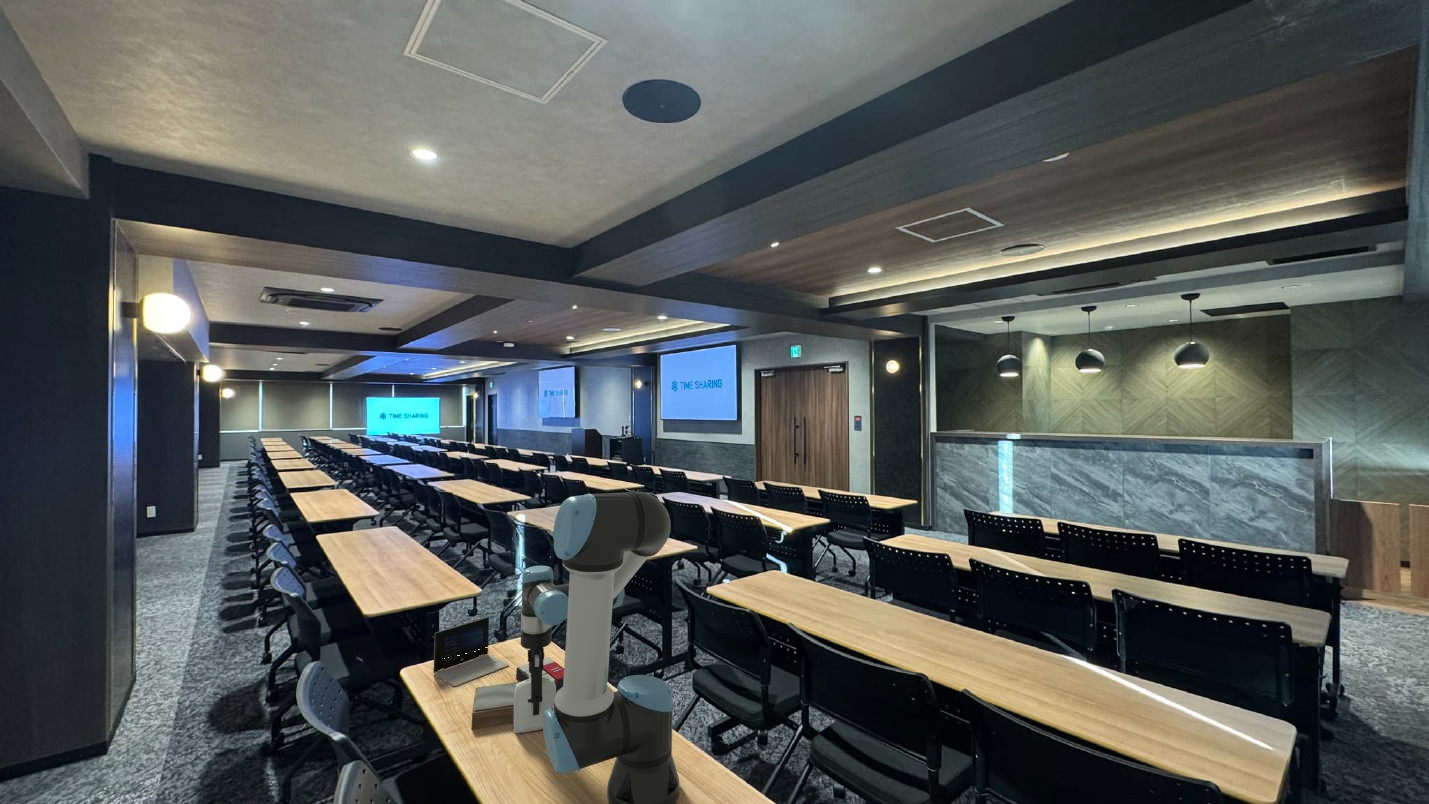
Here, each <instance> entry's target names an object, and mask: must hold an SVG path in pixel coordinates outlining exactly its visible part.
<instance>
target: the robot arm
mask: <svg viewBox="0 0 1429 804" xmlns="http://www.w3.org/2000/svg"><path fill="white" fill-rule="evenodd" d="M552 534H553V535H552V536H553V537H552V538H553V550H554V553H555V555H556V557H557V558H558V559H561V561H562V566H563V568H565V570H567V571H568V572H569V581H568V582H569V583H566V584H557V585H555V584H554V579H555V577H554V571H553V568H552V567H550V566H547V565H533V566H530V567H527V568H525V569H524V570H523V572H522V579H521V582H520V583H521V612H520V629H521V631H520V645H521V647H522V648H524V649H526V650H527V662H528V664H529V672H530V673H529V679H531V698H530V699H528V703H529V702H530V728H532V727H538V726H541V716H542V700H543V698H542V671H543V660H544V659H545V652H544V651H545V648H546V647H548V646H549V645H551V643H552V633H553V632H552V631H553V630H552V626H556V625H559V624H561V623H563V622H564V621H565V620H566V630H565V631H566V636H565V650H564V651H565V652H564V663H563V664H564V667H563V668H564V681H563V687H562V688H561V689H560V690H558V691H556V695H555V699H554V708H549V709H548V710H546V711H545V712H544V714H543V729H542V731H543V737H544V742H545V748H546V752H547V756H548V758H549V761H550V763H551V765H552V768H553V769H554V771H556V772H557V773H558V774H562V775H564V774H569V773H572V772H576V771H577V772H580V770H581V769H585V768H588V767H591V766H594V765H596V764H599V763H600V764H601V763H602V762H606V761H609V760H611V759H615V760H614V764H613V767H612V769H611V772H610V775H609V779H608V782H607V788H606V789H607V794H606V798H607V801H608V804H674V803H676V802H677V801H676V800H678V799H677V798H679V795H680V778H679V774H678V770H677V767H676V765H675V764H676V763H675V761H674V757H673V751H672V750H673V747H672V745H673V717H674V716H673V714H674V713H673V711H674V708H675V707H674V700H673V699H674V698H673V690H672V688H671V686H670V685H669V683H667V681H665V680H663V679H661V678H658V677H655V676H652V675H648V674H647V675H645V674H635V675H632V674H631V675H628V676H625V677H623V678H622V679H620V680H619V682H618V684H617V686H616V690H617V691H614V690H613V689H612V688H611V686H609V685H608V680H609V679H608V678H609V664H610V662H609V661H610V649H611V635H612V634H611V631H612V617H613V609H614V608H618V607H621V606H622V604H623V602H624V598H625V587H626V585H627V584H628V583H629V582H630V580H631V579H632V578H633V577H634V576H635V574H636V573H638V570H639V569H640V568H641V567H642V566H643V564H644V563H646V561H647V559H649V558H651V557H653V556H655V555H657V554H659V552H660V551H661V549H662V548H664V547H665V544H667V542H668V539H669V537H670V534H671V519H670V514H669V512H668V510H667V508H666V506H665V505H664V504H663V503H662V501H660V500H659V499H658V498H657V497H656V496H654V495H651V494H649V493H648V492H644V491H630V492H611V493H592V494H591V493H587V494H586V493H585V494H584V495H575V496H570V497H568V498H566V499H565V500H564V501H563V502H562V503H561V504H560V506H559V508H558V510H557V513H556V515H555V520H554V525H553V533H552Z"/></svg>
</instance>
